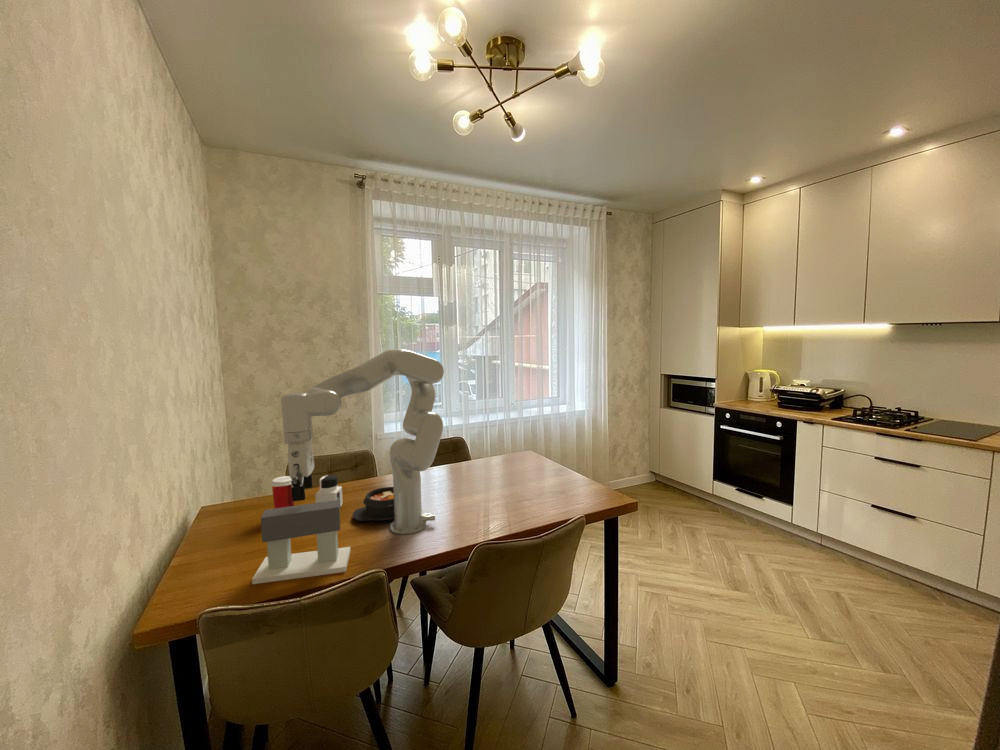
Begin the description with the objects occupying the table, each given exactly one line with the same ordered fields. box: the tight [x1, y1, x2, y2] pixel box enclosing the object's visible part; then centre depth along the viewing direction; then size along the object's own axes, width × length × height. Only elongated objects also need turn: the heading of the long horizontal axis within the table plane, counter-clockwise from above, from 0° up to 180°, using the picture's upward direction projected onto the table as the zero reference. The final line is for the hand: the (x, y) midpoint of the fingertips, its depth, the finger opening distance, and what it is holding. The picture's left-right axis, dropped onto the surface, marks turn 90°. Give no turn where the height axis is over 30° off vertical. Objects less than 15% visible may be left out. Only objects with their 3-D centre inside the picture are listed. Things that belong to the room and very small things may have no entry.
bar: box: [260, 500, 341, 543], centre depth 119 cm, size 20×6×7 cm, turn 111°
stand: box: [251, 531, 352, 585], centre depth 120 cm, size 24×12×10 cm, turn 104°
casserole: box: [352, 486, 394, 522], centre depth 156 cm, size 25×19×8 cm
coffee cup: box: [270, 475, 295, 509], centre depth 154 cm, size 8×8×15 cm
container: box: [314, 474, 344, 508], centre depth 163 cm, size 8×8×13 cm
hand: (302, 493), depth 119 cm, fingers open, 9 cm apart
